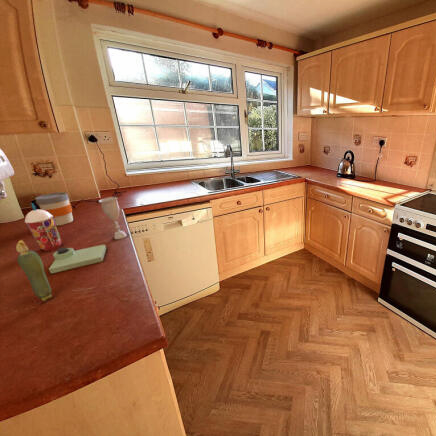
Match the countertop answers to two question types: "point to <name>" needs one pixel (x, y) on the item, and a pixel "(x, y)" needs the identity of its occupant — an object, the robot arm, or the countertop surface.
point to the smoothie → (43, 229)
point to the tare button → (62, 250)
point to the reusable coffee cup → (56, 207)
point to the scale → (77, 258)
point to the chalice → (112, 213)
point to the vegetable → (34, 271)
